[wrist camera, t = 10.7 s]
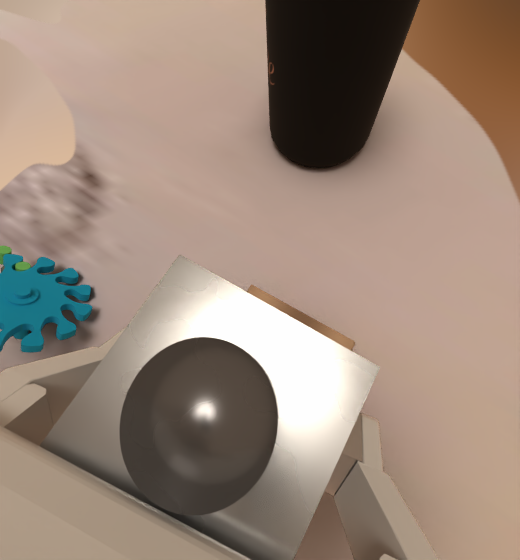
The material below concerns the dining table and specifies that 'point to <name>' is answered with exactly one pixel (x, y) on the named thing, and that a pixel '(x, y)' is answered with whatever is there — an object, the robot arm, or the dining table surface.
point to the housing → (218, 413)
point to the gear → (37, 300)
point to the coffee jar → (330, 72)
